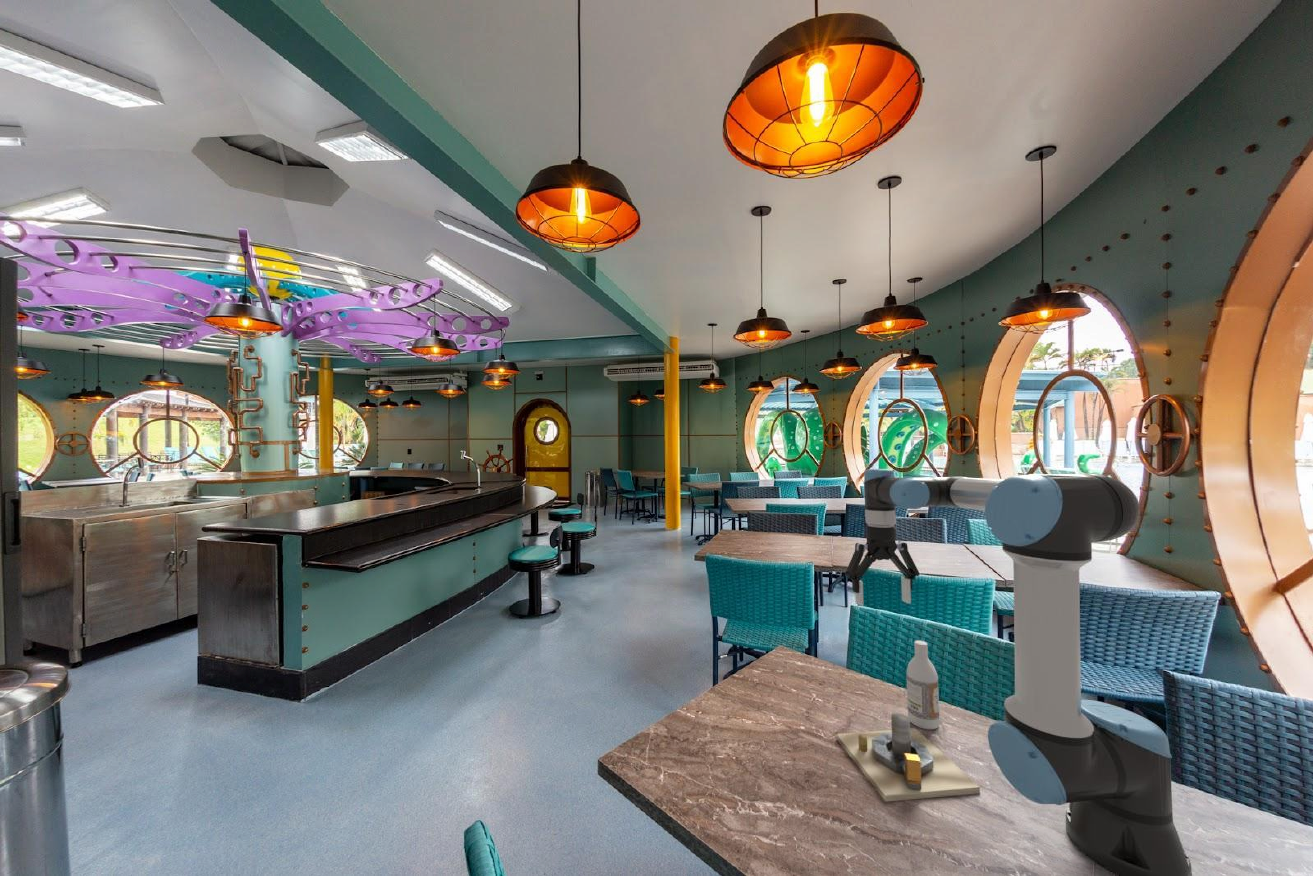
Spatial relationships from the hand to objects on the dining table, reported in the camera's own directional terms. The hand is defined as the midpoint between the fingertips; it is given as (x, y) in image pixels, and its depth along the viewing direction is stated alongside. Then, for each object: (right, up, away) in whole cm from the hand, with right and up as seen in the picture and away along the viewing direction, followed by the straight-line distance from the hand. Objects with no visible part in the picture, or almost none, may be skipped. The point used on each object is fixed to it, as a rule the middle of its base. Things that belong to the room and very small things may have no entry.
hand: (883, 603), depth 126 cm
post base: (-8, -27, -24) cm, 37 cm away
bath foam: (+6, -27, -9) cm, 29 cm away
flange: (-8, -25, -26) cm, 37 cm away
